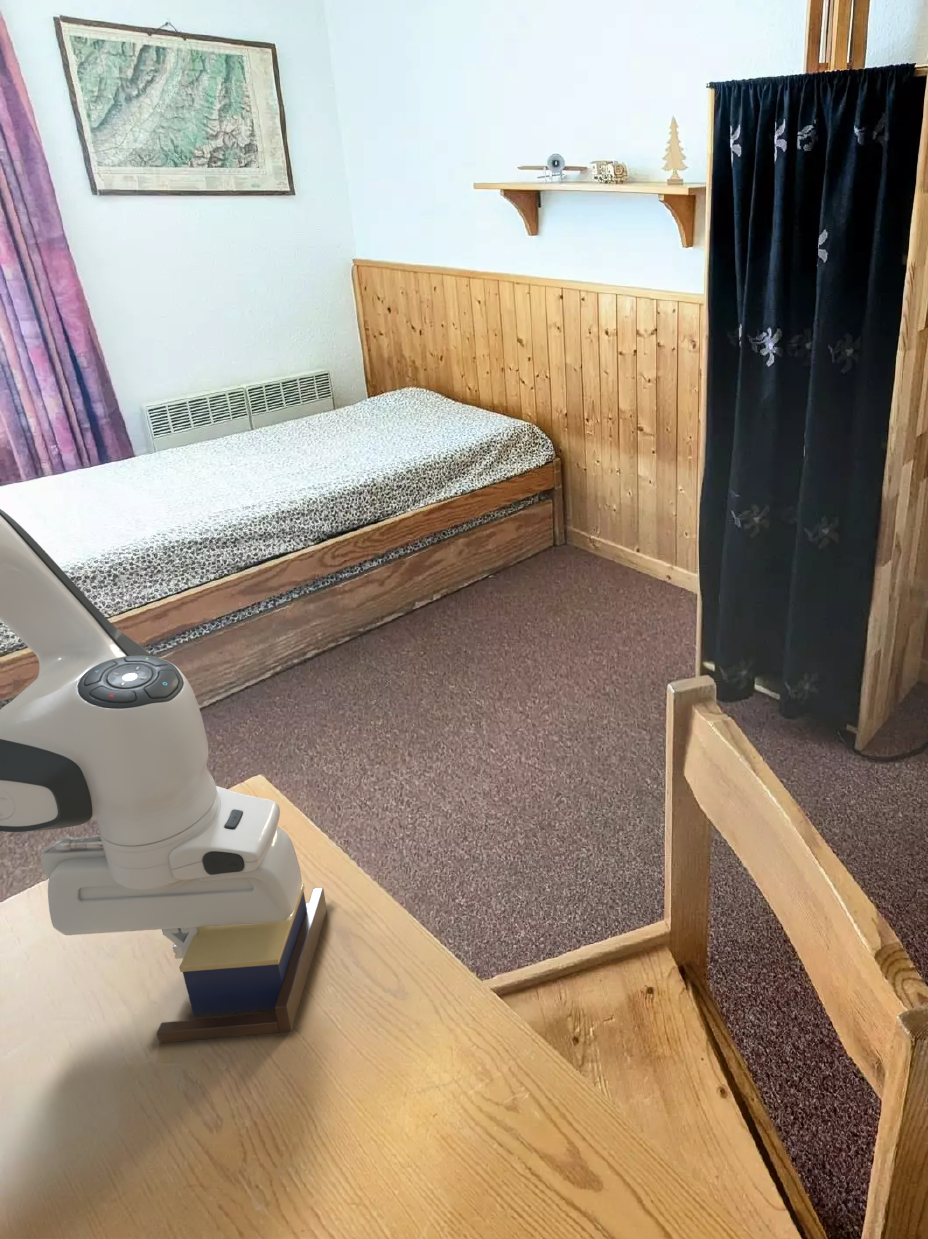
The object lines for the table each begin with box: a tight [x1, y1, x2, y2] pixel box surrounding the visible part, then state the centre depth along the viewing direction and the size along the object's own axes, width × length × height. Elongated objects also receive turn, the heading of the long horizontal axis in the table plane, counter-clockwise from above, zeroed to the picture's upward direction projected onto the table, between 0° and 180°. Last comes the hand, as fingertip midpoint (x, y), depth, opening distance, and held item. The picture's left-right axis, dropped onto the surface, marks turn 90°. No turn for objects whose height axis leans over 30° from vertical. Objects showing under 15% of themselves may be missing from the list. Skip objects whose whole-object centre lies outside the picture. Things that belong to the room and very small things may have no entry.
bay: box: [156, 887, 328, 1044], centre depth 76 cm, size 11×13×3 cm
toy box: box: [179, 882, 307, 1017], centre depth 76 cm, size 8×8×6 cm
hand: (192, 951), depth 75 cm, fingers closed, pressing on toy box
